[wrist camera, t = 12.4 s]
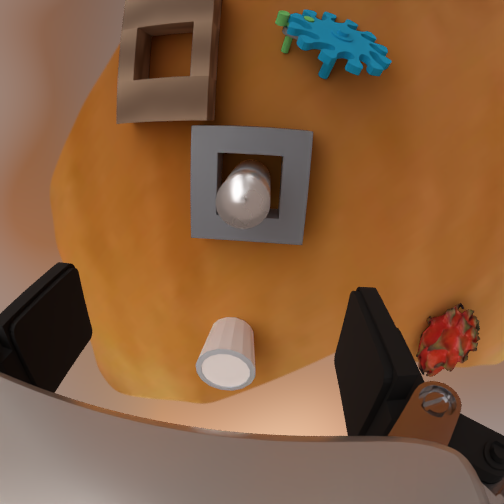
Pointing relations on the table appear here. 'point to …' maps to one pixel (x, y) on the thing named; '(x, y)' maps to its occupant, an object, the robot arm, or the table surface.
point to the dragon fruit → (448, 340)
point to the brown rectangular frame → (170, 88)
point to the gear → (333, 42)
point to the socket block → (250, 142)
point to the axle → (245, 195)
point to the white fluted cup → (228, 355)
